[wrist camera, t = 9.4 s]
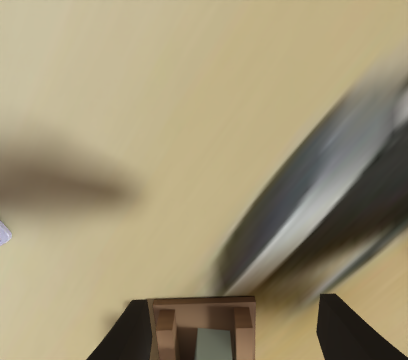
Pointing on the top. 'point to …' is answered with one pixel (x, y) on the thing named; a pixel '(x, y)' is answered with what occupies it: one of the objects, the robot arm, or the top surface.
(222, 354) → the pale teal block
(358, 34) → the top surface
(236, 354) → the floor track
